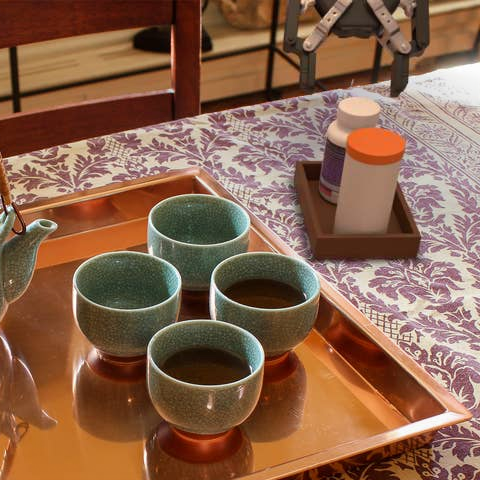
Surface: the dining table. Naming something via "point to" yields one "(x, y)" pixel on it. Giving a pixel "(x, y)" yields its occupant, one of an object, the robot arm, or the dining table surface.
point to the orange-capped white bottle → (368, 181)
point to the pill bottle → (344, 141)
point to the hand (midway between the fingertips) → (352, 94)
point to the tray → (352, 245)
